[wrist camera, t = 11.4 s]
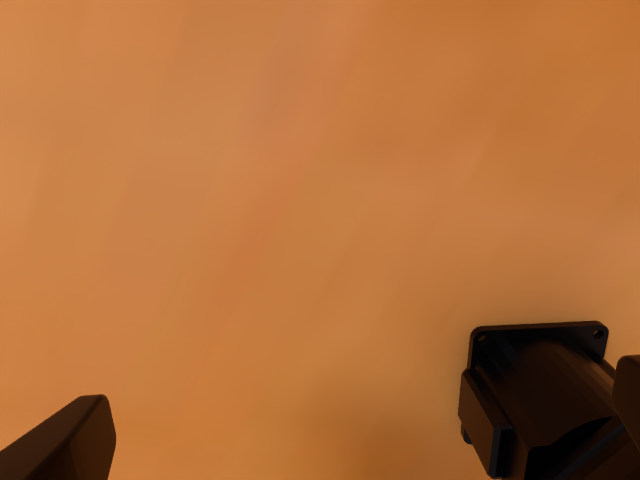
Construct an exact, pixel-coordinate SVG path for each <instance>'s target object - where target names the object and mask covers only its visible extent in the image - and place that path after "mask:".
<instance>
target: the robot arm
mask: <svg viewBox="0 0 640 480" xmlns="http://www.w3.org/2000/svg"><path fill="white" fill-rule="evenodd" d="M596 330H598V332H597V333H596V334H594V332H595V331H596ZM593 334H594V335H593ZM608 334H609V330H608V328H607V327H606V326H605V325H603V324H602V323H601V322H599V321H581V322H560V323H540V324H519V325H499V326H481V327H477V328H475V329H474V330H473V331H472V332H471V335H470V342H469V352H468V362H467V369H465V370H464V371H463V373H462V376H461V387H460V397H459V408H458V416H459V418H460V420H461V422H462V424H461V435H462V437H463V439H464V441H465V442H466V443H468V444H473V446H474V448H475V450H476V452H477V454H478V456H479V458H480V460H481V462H482V465H483V467H484V469H485V471H486V473H487V474H488V475H489V476H490V477H491V478H492V479H501V480H640V355H627V356H623V357H621V358H620V359H619V360H618V363H617V367H616V370H615V369H614V368H613V367H612V366H611V365H610V364H609V363H608V362H607V361H606V360H605V359H604V354H605V349H606V344H607V339H608ZM483 335H486V336H485V338H484V339H483V340H479V338H480V337H481V336H483ZM115 447H116V432H115V427H114V423H113V418H112V413H111V409H110V404H109V401H108V399H107V397H106V396H105V395H103V394H99V395H85V396H80V397H78V398H76V399H75V400H74V401H72V402H71V403H69V404H68V405H66V406H65V407H63V408H62V409H61V410H59V411H58V412H56V413H55V414H53V415H52V416H50V417H49V418H48V419H46V420H45V421H43V422H42V423H40V424H39V425H38V426H36V427H35V428H33V429H32V430H30V431H29V432H27V433H26V434H25V435H23V436H22V437H20V438H19V439H17V440H16V441H14V442H13V443H12V444H10V445H9V446H7V447H6V448H4V449H3V450H1V451H0V480H108V476H109V472H110V468H111V464H112V460H113V455H114V451H115Z"/></svg>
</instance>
